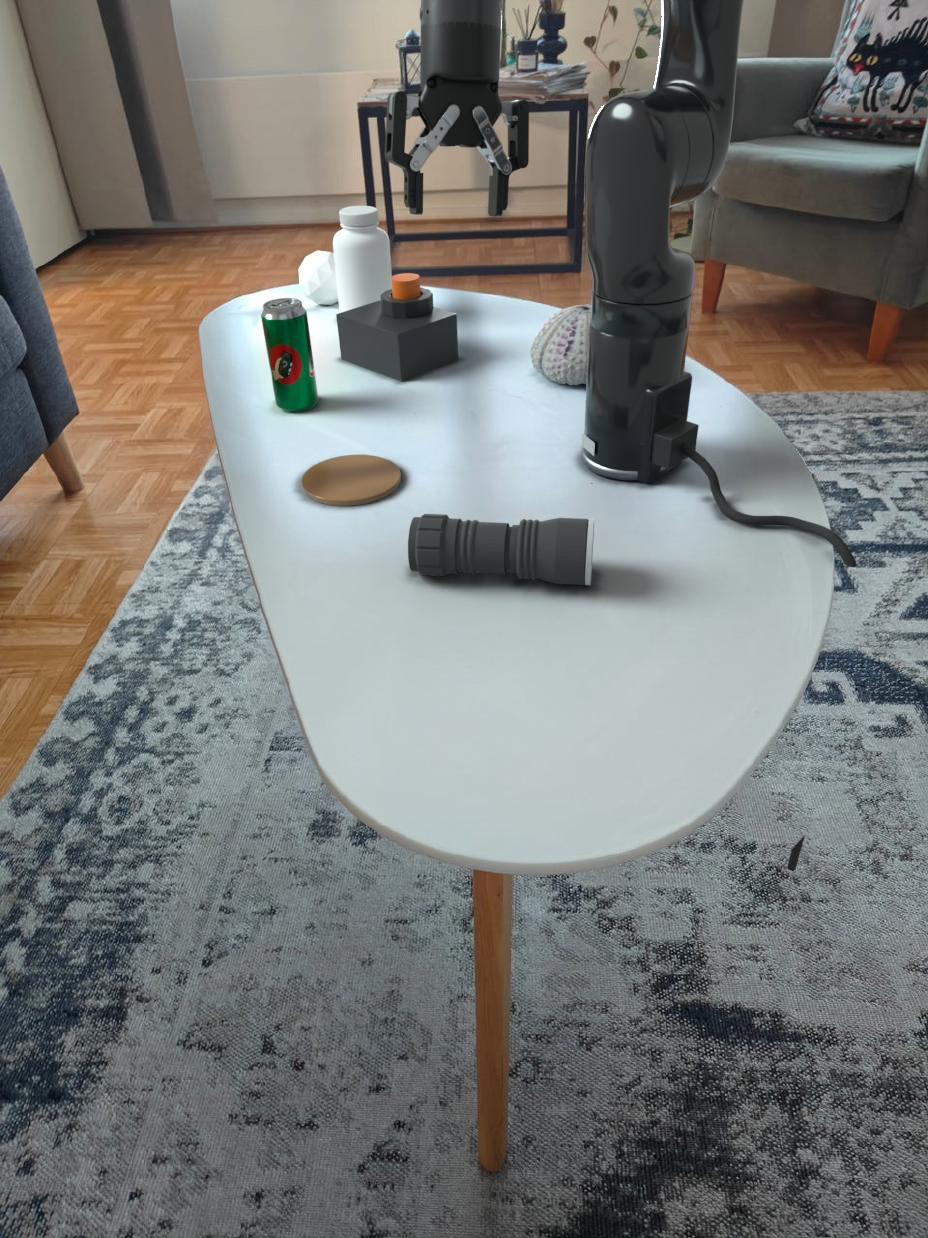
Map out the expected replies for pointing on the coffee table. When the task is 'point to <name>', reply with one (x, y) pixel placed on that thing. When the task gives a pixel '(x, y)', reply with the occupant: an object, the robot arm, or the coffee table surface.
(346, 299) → the pill bottle
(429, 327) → the push button base
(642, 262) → the robot arm
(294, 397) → the soda can
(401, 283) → the button
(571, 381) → the sea urchin shell
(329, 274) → the geometric ball
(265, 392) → the coffee table surface
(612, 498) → the coffee table surface
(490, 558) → the flashlight
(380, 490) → the coaster
